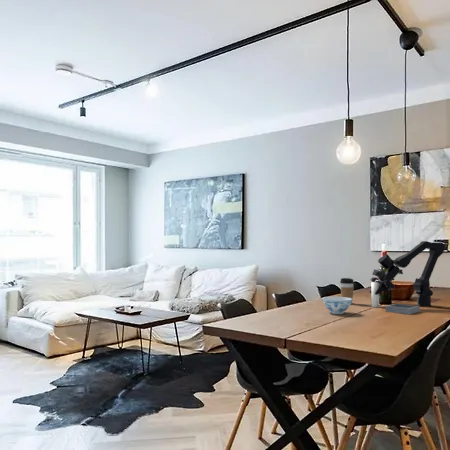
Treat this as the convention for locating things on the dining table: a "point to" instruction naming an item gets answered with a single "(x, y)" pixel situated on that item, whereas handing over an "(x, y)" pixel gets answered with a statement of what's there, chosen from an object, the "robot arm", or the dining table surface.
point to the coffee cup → (347, 288)
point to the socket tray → (402, 308)
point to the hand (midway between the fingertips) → (372, 293)
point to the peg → (374, 297)
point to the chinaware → (337, 304)
